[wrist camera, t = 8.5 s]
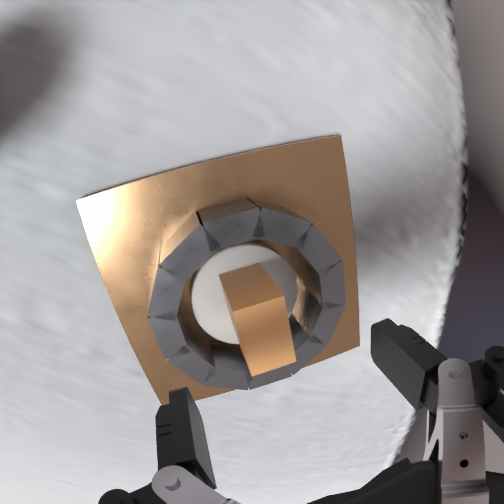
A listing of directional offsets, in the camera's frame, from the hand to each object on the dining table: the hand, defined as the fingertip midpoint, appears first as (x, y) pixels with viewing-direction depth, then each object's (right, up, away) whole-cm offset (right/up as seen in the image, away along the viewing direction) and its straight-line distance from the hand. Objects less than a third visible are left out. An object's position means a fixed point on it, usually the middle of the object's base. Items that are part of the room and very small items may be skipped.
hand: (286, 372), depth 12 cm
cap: (-2, +2, +8) cm, 8 cm away
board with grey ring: (-2, +3, +9) cm, 9 cm away
